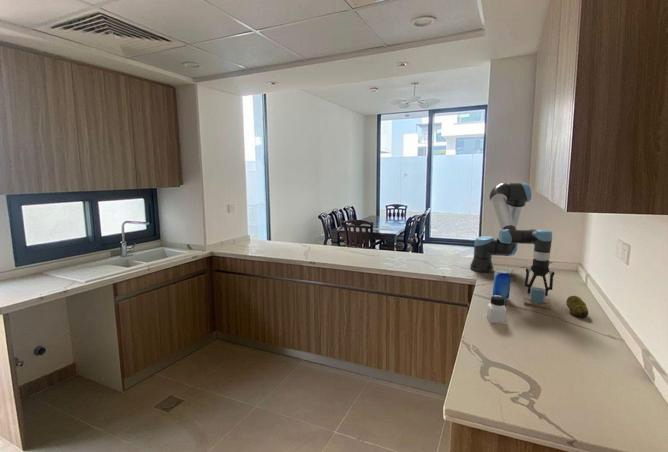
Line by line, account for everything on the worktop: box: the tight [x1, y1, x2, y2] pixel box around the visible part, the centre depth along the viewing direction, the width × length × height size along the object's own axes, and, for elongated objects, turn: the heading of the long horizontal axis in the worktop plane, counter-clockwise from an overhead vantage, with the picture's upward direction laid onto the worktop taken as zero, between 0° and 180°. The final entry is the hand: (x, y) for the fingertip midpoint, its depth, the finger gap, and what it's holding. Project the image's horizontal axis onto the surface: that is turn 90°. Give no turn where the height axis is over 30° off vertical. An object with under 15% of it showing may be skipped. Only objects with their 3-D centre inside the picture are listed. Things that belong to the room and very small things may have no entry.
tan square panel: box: [523, 295, 551, 310], centre depth 193 cm, size 12×12×6 cm
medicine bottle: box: [486, 295, 508, 325], centre depth 171 cm, size 7×7×12 cm
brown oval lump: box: [565, 295, 589, 319], centre depth 179 cm, size 8×13×8 cm, turn 155°
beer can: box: [492, 268, 512, 302], centre depth 198 cm, size 8×8×16 cm
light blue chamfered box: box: [531, 286, 545, 304], centre depth 193 cm, size 6×6×7 cm
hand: (536, 300), depth 193 cm, fingers closed on light blue chamfered box, 6 cm apart
